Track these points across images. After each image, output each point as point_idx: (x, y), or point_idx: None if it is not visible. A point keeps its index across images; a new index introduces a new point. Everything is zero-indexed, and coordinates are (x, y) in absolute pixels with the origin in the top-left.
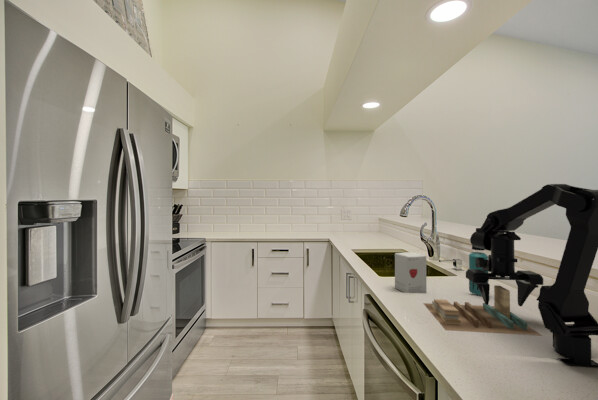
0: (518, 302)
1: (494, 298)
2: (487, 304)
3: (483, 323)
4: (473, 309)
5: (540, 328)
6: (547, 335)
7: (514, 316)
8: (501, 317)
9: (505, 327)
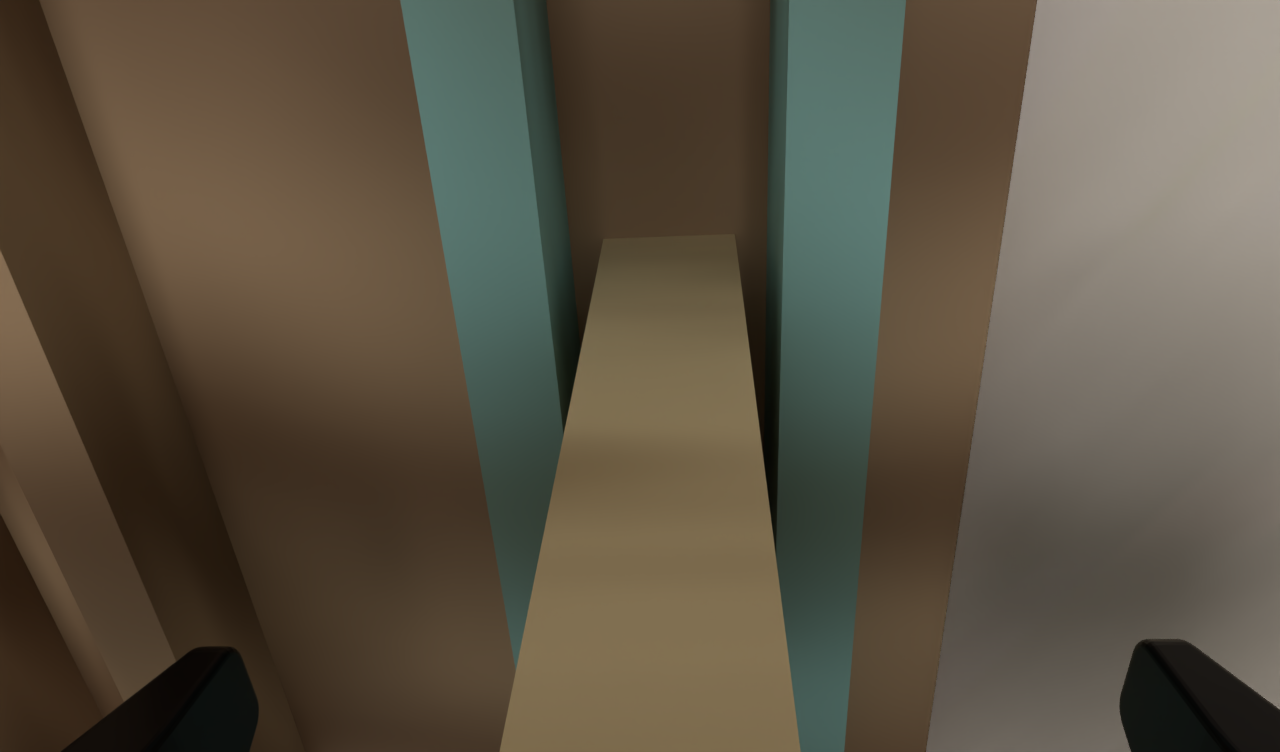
0: (1169, 727)
1: (556, 482)
2: (235, 732)
3: None
4: (21, 478)
5: (1178, 568)
6: (1061, 745)
7: None
8: None
9: None
